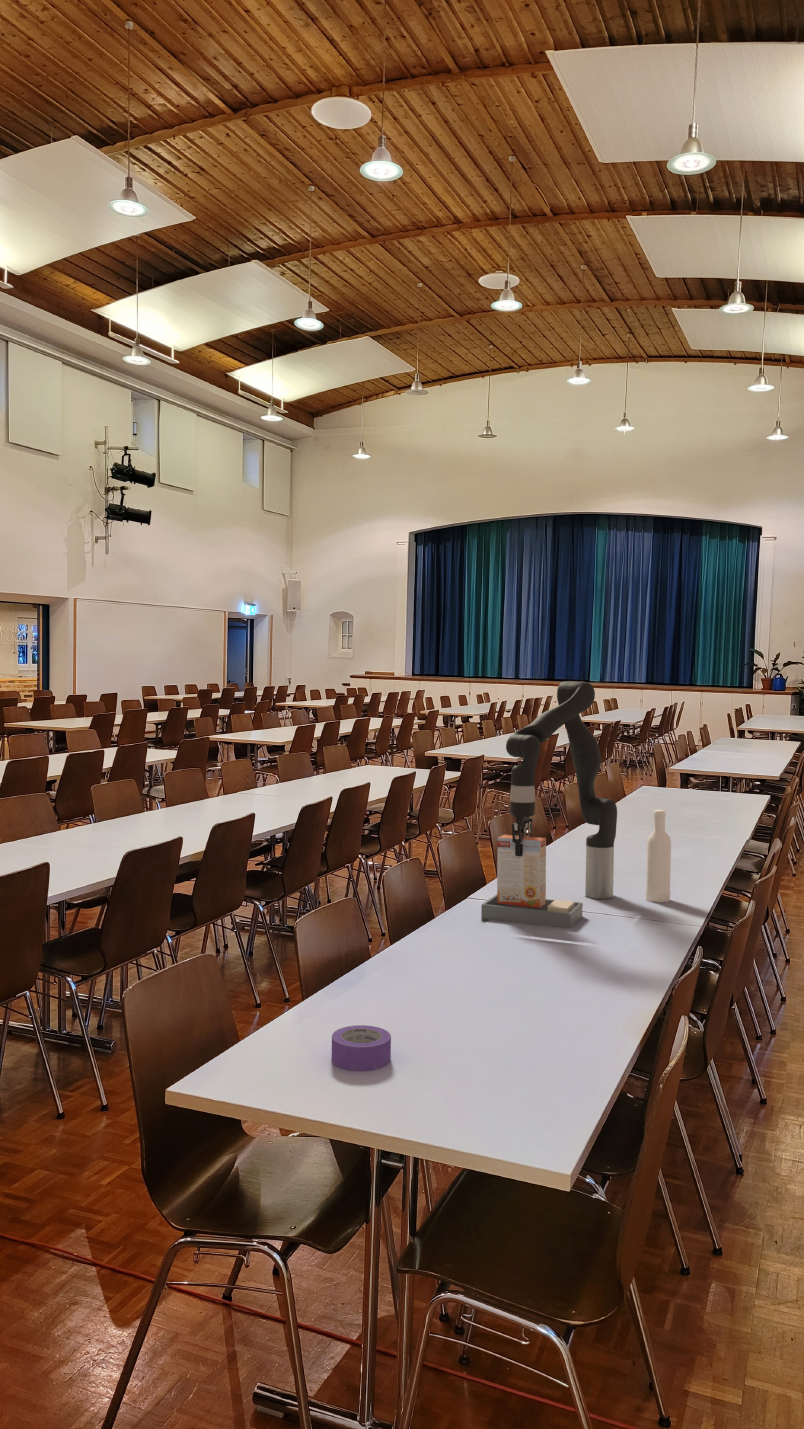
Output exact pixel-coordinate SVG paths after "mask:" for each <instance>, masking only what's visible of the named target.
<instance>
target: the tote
mask: <svg viewBox="0 0 804 1429" xmlns="http://www.w3.org/2000/svg"><path fill="white" fill-rule="evenodd" d="M555 900H556V899H548V898H547V899H546V904H545V905H544V906H542V907H540V908H533V907H524V906H516V905H508V904H498V903H497V893H496V894H495V895H493V896H492V897H490V898H489V899H488V900H486V901H485V902H482V904H481V915H480V916H481V922H489V921H490V920H493V921H501V922H502V921H503V922H510V923H511V922H512V923H520V924H530V925H540V926H547V927H554V928H557V927H558V928H563V929H571V928H572V927H574V926H575V925H576V924H577V922H578V921H580V920H581V918H582V917H583V906H584V905H583V902H578V901H577V902H576V901H573V902H574V909H573V910H572V911H570V912H569V913H562V912H553V911H547V909H548V906H549V905H550V904H551V903H552V902H553V901H555Z"/></svg>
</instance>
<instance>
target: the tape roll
mask: <svg viewBox="0 0 804 1429" xmlns="http://www.w3.org/2000/svg"><path fill="white" fill-rule="evenodd" d="M391 1049H392V1035H391V1033H390V1032H389V1031H388V1030H386V1029H385V1028H382V1027H379V1026H373V1025H364V1024H361V1025H350V1026H349V1025H348V1026H345V1027H344V1026H343V1027H341V1028H339V1029H336V1030H334V1031H333V1032H332V1034H331V1058H330V1059H331V1062H332V1064H333V1065H334V1066H336V1068H339V1069H341V1070H346V1071H351V1072H371V1071H375V1070H378V1069H383V1068H384V1067H386V1066H388V1065H389V1064H390V1062H391V1057H392V1056H391V1054H392V1053H391V1052H392V1050H391Z"/></svg>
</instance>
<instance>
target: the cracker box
mask: <svg viewBox="0 0 804 1429" xmlns="http://www.w3.org/2000/svg"><path fill="white" fill-rule="evenodd" d="M517 839H519V837H517ZM496 854H497V859H496V860H497V864H496V865H497V866H496V868H497V869H496V871H497V872H496V874H497V876H496V877H497V878H496V879H497V880H496V886H497V887H496V888H497V890H496V891H497V892H496V894H497V903H498V904H508V905H516V906H524V907H533V908H540V907H542V906H544V905H545V904H546V898H547V897H546V896H547V895H546V893H547V892H546V890H547V889H546V888H547V878H546V877H547V869H546V868H547V838H546V837H539V836H538V837H535V836H531V837H527V836H525V837H524V839H523V855H522V856H515V844H514V843H513V841H512V834H502V835H501V836H498V837H497V853H496Z"/></svg>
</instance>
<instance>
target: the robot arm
mask: <svg viewBox="0 0 804 1429" xmlns="http://www.w3.org/2000/svg"><path fill="white" fill-rule="evenodd" d="M556 690H557V691H556V698H557V699H556V700H557V703H558V705H556V706H554V707H553V708H551V709H548V710H546V711H544V712H542V713H541V714H540V715H538V716H537V717H536V718H535V719H534V720H533V721H531V723H530V724H528V725H526V726H524V727H522V728H521V729H518V730H517V731H515V732H514V733H511V735H510V736H509V737H508V738H507V740H506V743H505V750H506V752H507V754H508V755H509V756H511V757H514V758H522V761H521V764H518V765H514V766H513V767H512V768H511V773H510V774H511V777H510V779H511V781H510V784H511V785H510V794H509V795H510V798H509V800H510V801H509V803H510V805H509V814H510V815H511V816H512V817H515V821H514V823H512V824H511V833H512V834H511V835H512V841H513V843H514V844H515V856H522V855H523V839H524V837H525V836H527V837H533V835H532V834H533V820H534V819H533V818H532V817H534V816H535V814H536V790H535V771H536V768H537V765H538V760H539V757H540V754H541V744H543V743H544V742H546V741H547V740H548V739H549V738H550V737H551V736H552V735H553V734H554V733H556V731H557V730H559V729H560V728H561V727H563V725H564V727H565V730H566V734H567V738H568V743H569V749H570V754H571V759H572V763H573V767H574V771H575V777H576V783H577V788H578V798H579V806H580V808H579V809H580V813H581V817H582V819H583V821H584V822H585V823H586V824H589V825H593V826H598V832H596V833H593V834H591V835H588V836H587V837H586V838H585V839H586V840H585V891H584V893H585V897H587V898H591V899H597V900H606V899H612V898H614V875H615V873H614V872H615V870H614V869H615V865H614V863H615V840H616V837H617V836H616V834H617V822H618V807H617V803H616V802H615V800H613V799H610V798H604V797H603V798H601V797H597V796H596V793H595V781H596V777H597V775H598V773H599V770H600V768H601V766H602V756H601V752H600V747H599V743H598V740H597V739H596V738H595V736H594V735H593V733H592V732H591V731H590V729H588V727H587V725H585V723H584V721H583V720H582V718H581V716H580V714H582V713H584V712H585V711H587V710H588V709H589V708H591V706H592V705H593V704H594V701H595V698H596V692H595V688H594V686H593V684H591V683H590V682H587V681H582V680H581V681H577V680H575V681H574V680H573V681H572V680H568V681H567V680H566V681H562V682H560V683H559V684H558V686H557V689H556ZM517 837H519V839H517Z"/></svg>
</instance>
